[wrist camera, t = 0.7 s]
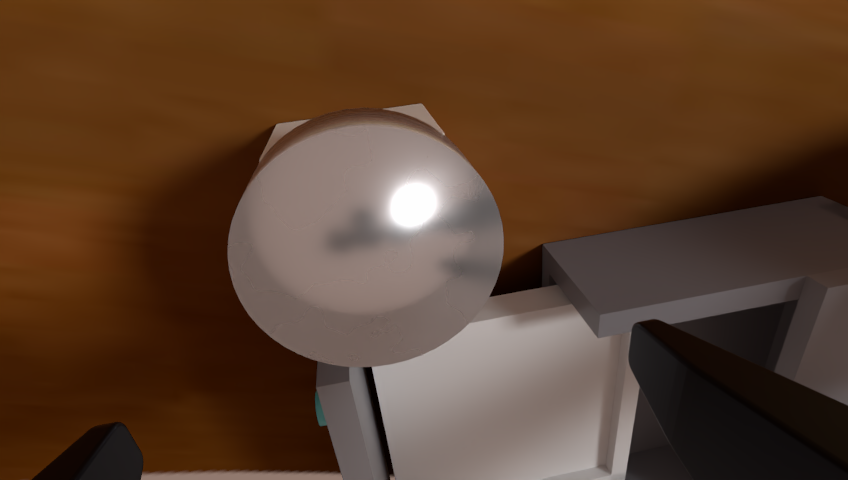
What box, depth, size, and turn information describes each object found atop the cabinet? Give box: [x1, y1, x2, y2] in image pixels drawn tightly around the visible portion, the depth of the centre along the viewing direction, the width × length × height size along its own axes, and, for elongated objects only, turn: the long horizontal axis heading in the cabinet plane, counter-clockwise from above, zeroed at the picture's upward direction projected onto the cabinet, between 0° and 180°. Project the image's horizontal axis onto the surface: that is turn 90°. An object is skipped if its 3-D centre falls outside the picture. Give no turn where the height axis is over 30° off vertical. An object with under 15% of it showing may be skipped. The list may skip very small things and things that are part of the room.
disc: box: [227, 108, 504, 367], centre depth 13 cm, size 7×7×2 cm
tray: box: [315, 285, 640, 480], centre depth 20 cm, size 14×15×6 cm
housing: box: [542, 196, 848, 480], centre depth 21 cm, size 13×15×6 cm
